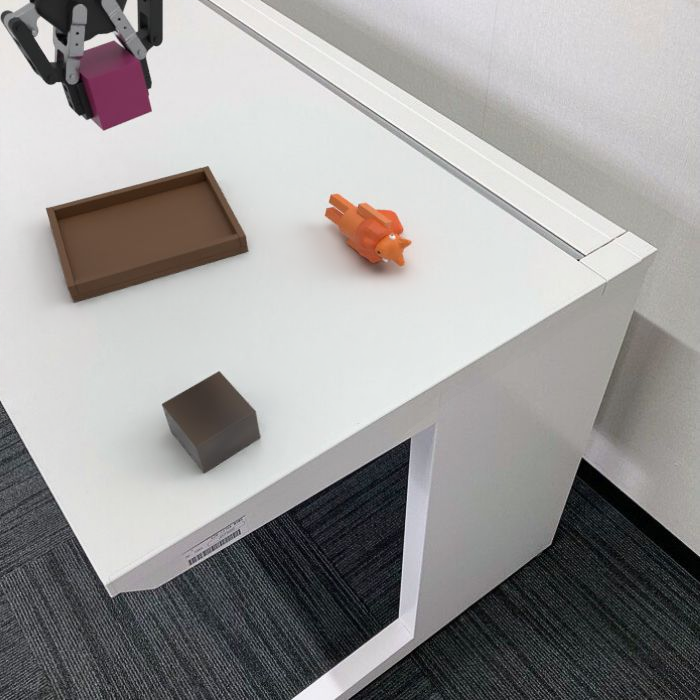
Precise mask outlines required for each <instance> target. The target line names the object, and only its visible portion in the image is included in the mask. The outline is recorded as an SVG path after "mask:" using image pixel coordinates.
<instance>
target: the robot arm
mask: <svg viewBox="0 0 700 700" xmlns="http://www.w3.org/2000/svg"><path fill="white" fill-rule="evenodd" d="M136 2H137V5H136V6H137V31H136V30H135V28H134V26H133V25H132V24H131V22H130V21H129V19H128V18H127V16H126V15H125V13H124V11H125V9H126V8H125V7H126V5H127V3H128V0H29V2H28V3H26V4H25V5H23V6H22V7H20V8H18V9H17V10H15V11H14V12H13V11H11V10H8V9H7V10H4V11H2V12H1V13H0V21H1V23H2V25H3V26H4V28H5V29H6V31H7V33H8V34H9V35H10V37H11V38H12V40H13V41H14V42H15V45H16V46H17V48H18V50H19V51H20V52H21V54H22V56H23V57H24V58H25V60H26V61H27V63H28V64H29V66H30V68H31V69H32V71H33V72H34V73H35V74H36V75H37V76H39V77H40V78H41V79H42V81H43V82H44V83H45V84H47V85H49V86H53V85H55V84H56V83H61V86H62V89H63V92H64V95H65V98H66V101H67V104H68V106H69V108H70V109H71V110H72V111H73V112H74V113H75V114H76V115H77V116H79V117H82V118H83V119H84V120H86V121H89V120H92V119H91V118H94V115H93V112H92V109H91V105H90V102H89V99H88V96H87V92H86V89H85V86H84V83H83V81H82V80H81V79H80V60H81V58H82V57H83V53H84V51H85V42H87V41H90V40H92V39H93V38H95V37H97V36H99V35H108V34H110V33H112V34H113V35H114V36H115V38H116V39H117V41H118V42H119V45H121V46H122V47H123V48H124V49H126V50H127V51H128V52H129V53H131V54H132V55H133V56H134V57H136V58H137V59H138V60H139V61H140V63H141V67H142V71H143V76H144V80H145V84H146V88H147V92H148V96H149V97H150V92H149V90H150V89H152V86H153V85H152V84H153V80H152V77H151V73H150V69H149V64H148V60H147V54H148V52H149V51H150V50H151V49H152V48H153V47H159V46H161V45H162V43H163V41H164V0H136ZM39 18H42V19H43V20H45V21H46V22H47V23H49V24H50V25H51V26H52V44H53V47H54V61H50V60H49V59H48V57H47V55H46V54H45V52H44V51H43V49H42V48H41V45H39V43H38V42H37V39H36V37H37V36H38V34H39V27H38V20H39Z"/></svg>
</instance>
